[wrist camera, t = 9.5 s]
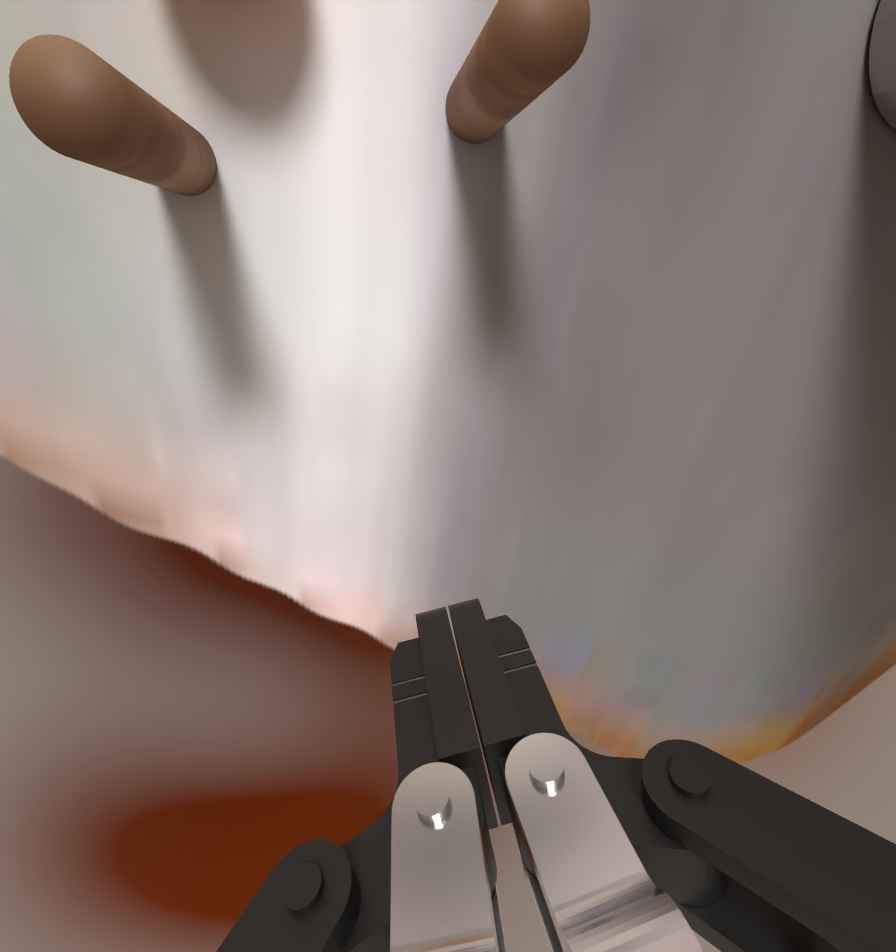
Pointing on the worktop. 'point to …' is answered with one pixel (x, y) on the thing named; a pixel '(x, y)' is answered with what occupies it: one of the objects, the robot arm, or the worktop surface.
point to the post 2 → (515, 63)
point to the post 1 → (105, 117)
